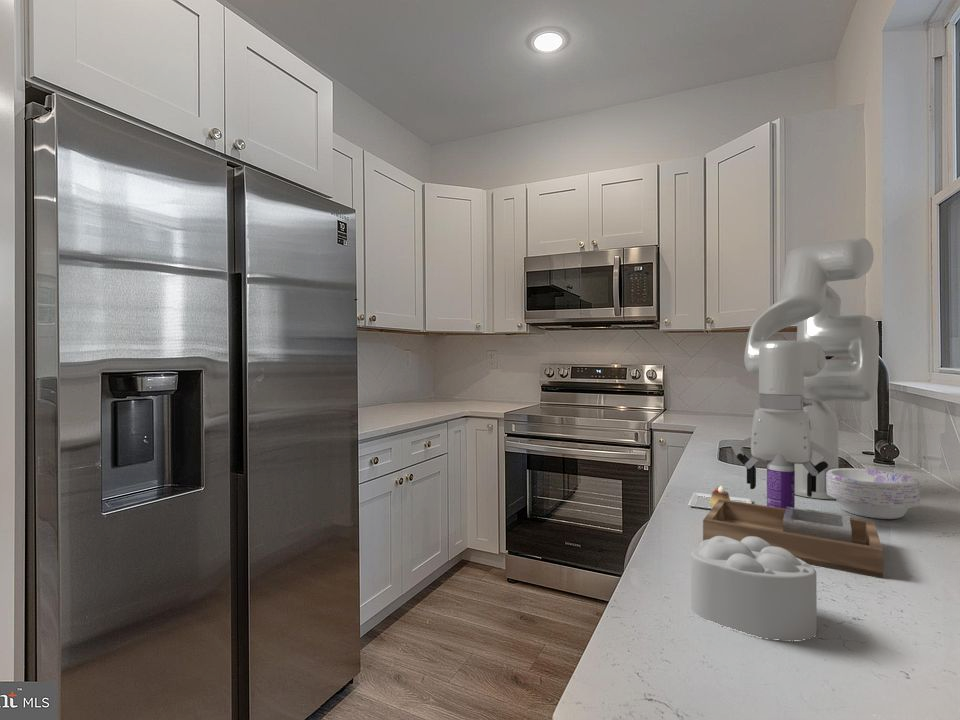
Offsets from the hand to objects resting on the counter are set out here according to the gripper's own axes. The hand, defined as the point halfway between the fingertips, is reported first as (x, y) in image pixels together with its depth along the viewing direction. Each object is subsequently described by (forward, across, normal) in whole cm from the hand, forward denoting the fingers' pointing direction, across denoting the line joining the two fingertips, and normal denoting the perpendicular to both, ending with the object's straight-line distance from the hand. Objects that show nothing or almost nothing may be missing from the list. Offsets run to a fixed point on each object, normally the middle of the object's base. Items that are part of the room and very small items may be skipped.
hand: (780, 491), depth 98 cm
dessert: (+7, +12, -6) cm, 14 cm away
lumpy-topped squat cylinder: (+6, 0, +45) cm, 45 cm away
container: (+6, 0, 0) cm, 6 cm away
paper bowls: (+6, -15, -17) cm, 23 cm away
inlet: (+6, -6, +14) cm, 16 cm away
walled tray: (+6, -2, +14) cm, 15 cm away
